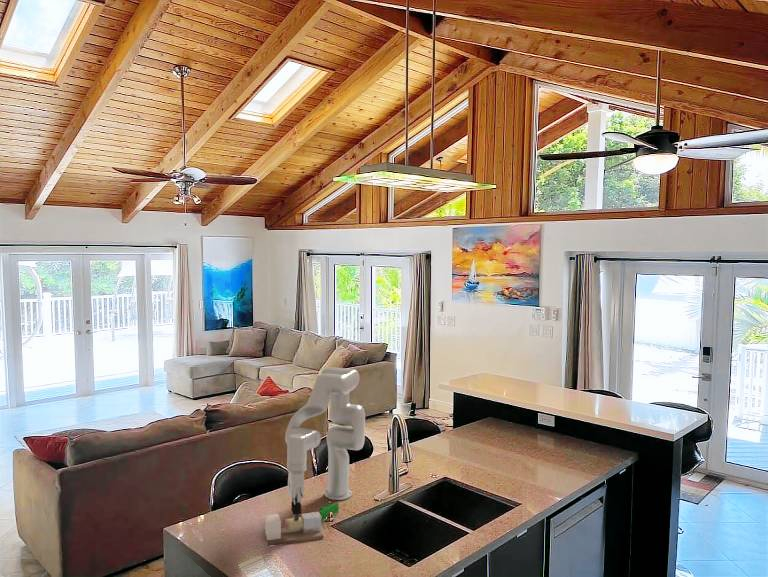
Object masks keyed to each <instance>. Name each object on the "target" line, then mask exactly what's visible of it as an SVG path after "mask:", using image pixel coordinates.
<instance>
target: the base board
mask: <svg viewBox="0 0 768 577" xmlns="http://www.w3.org/2000/svg"><path fill="white" fill-rule="evenodd" d="M264 532H265V528H264V530H263V533H264ZM264 535H266V533H264ZM265 539H267V537H266V536H265ZM323 539H324V534H323V532H322V531H321V532H314V533H307V534H303V531H302V529H301V528H298V529H291V530H286V528H285V525H284V526H281V538H280V539H273V540H266V543H267V542H268V543H267V546H268V547H271V546H270V545H275V546H281V544H282V545H288V544H294V543H295V544H296V543H303V542H309V541H310V540H311V541H316V540H323Z"/></svg>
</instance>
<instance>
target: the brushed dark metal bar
mask: <svg viewBox="0 0 768 577" xmlns="http://www.w3.org/2000/svg"><path fill="white" fill-rule="evenodd" d="M299 515H300V514H295V515H293V517H292V518H285V520H284V522H285V524H284V526H285V528H286V530H291V529H298V528H303V518H302V517H301V516H299Z"/></svg>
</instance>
